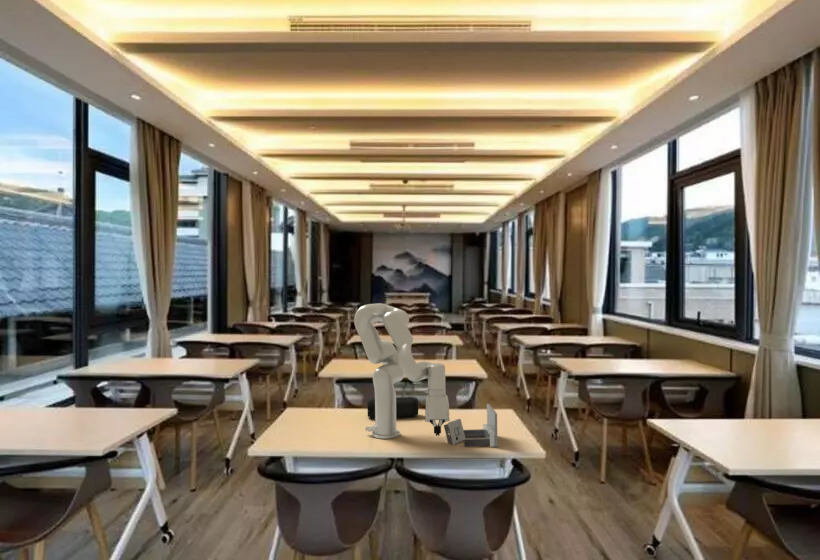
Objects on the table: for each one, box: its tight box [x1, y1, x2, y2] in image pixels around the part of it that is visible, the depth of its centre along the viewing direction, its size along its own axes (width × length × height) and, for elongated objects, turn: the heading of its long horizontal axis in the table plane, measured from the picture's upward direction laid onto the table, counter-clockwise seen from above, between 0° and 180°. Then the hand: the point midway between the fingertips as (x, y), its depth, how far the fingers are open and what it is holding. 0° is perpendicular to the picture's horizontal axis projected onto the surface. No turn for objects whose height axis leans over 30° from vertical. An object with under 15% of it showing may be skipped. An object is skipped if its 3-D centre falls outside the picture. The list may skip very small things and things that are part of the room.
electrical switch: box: [443, 418, 466, 445], centre depth 245 cm, size 9×5×9 cm, turn 143°
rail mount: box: [463, 403, 498, 448], centre depth 244 cm, size 14×19×14 cm
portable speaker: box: [367, 396, 419, 419], centre depth 288 cm, size 26×10×10 cm, turn 95°
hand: (437, 434), depth 244 cm, fingers closed
